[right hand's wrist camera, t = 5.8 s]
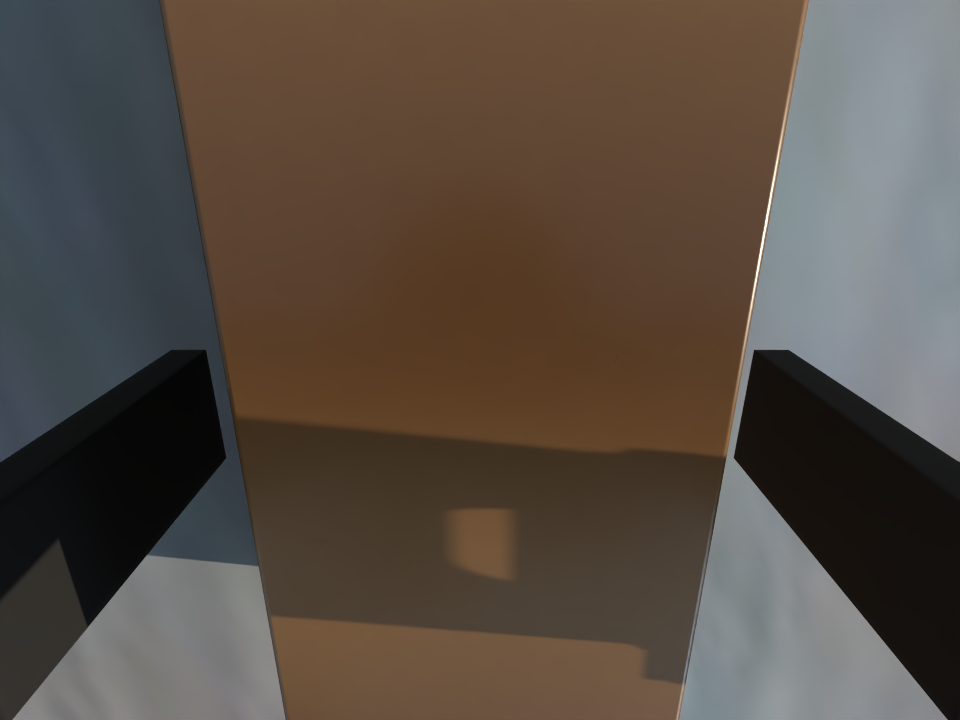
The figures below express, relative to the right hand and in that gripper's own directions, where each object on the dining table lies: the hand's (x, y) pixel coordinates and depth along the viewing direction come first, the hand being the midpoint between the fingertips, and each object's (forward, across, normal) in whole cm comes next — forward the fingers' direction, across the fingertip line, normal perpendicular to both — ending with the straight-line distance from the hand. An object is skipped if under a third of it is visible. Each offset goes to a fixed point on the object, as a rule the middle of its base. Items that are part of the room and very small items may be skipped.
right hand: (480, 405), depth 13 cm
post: (+2, 0, -34) cm, 34 cm away
